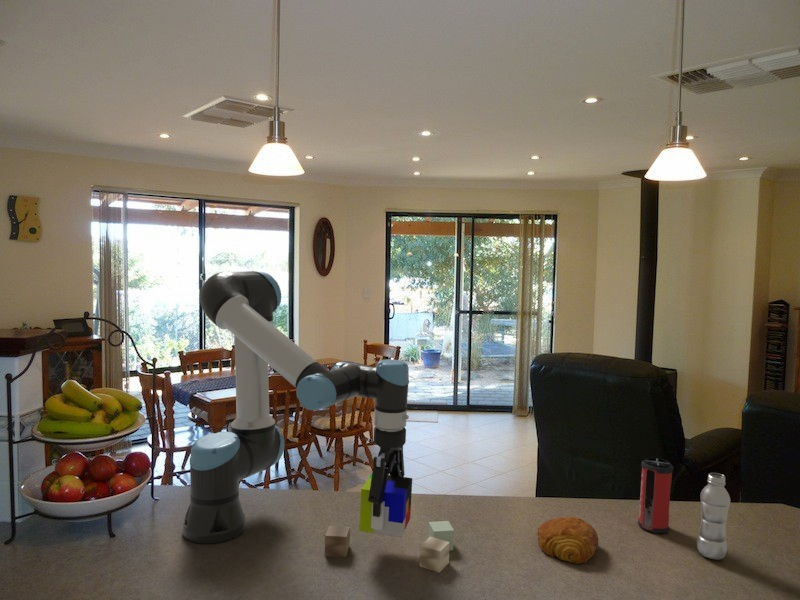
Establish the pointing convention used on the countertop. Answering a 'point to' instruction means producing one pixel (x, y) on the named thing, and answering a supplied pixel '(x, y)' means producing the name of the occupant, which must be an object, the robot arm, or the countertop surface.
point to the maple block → (434, 554)
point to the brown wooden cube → (337, 541)
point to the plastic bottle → (713, 518)
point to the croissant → (568, 539)
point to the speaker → (655, 495)
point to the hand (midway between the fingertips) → (385, 518)
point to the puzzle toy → (388, 506)
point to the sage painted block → (442, 532)
